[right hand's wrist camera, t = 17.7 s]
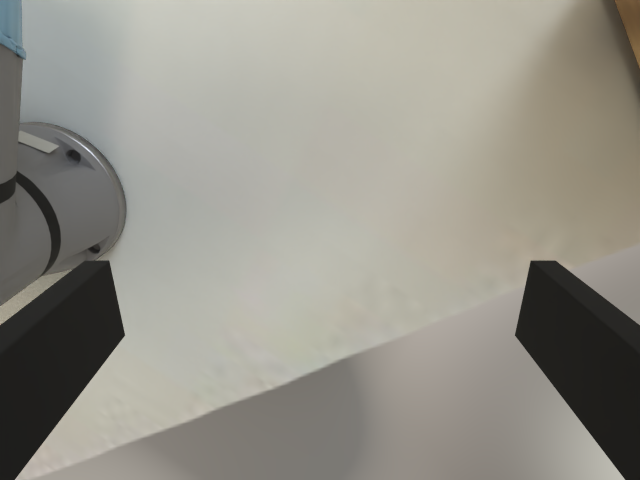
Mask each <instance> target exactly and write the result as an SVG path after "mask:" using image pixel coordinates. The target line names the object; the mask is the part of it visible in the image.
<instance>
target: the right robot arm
mask: <svg viewBox="0 0 640 480" xmlns="http://www.w3.org/2000/svg"><path fill="white" fill-rule="evenodd" d="M23 59H24V60H26V52H25V50H24V49H23V48H22V2H21V0H0V306H1V305H2V304H4V303H5V302H6V301H8V300H9V299H10V298H12V297H13V296H15V295H16V294H17V293H19V292H20V291H21V290H23V289H24V288H26V287H27V286H28V285H30V284H31V283H32V282H34V281H35V280H37V279H38V278H39V277H41V276H44V275H48V274H53V273H57V272H62V271H66V270H71V269H73V270H72V271H70V272H69V273H68V274H67V275H65V276H64V277H63V278H61V279H60V280H59V281H57V282H56V283H55V284H54V285H52V286H51V287H50V288H48V289H47V290H46V291H44V292H43V293H42V294H41V295H39V296H38V297H37V298H35V299H34V300H33V301H31V302H30V303H29V304H27V305H26V306H25V307H24V308H22V309H21V310H20V311H18V312H17V313H16V314H14V315H13V316H12V317H11V318H9V319H8V320H7V321H5V322H4V323H3V324H1V325H0V480H15V479H16V477H17V476H18V475H19V473H20V472H21V471H22V469H23V468H24V467H25V465H26V464H27V463H28V462H29V460H30V459H31V458H32V456H33V455H34V454H35V452H36V451H37V450H38V448H39V447H40V446H41V445H42V443H43V442H44V441H45V439H46V438H47V437H48V435H49V434H50V433H51V431H52V430H53V429H54V428H55V426H56V425H57V424H58V422H59V421H60V420H61V418H62V417H63V416H64V414H65V413H66V412H67V411H68V409H69V408H70V407H71V405H72V404H73V403H74V401H75V400H76V399H77V397H78V396H79V395H80V393H81V392H82V391H83V390H84V388H85V387H86V386H87V384H88V383H89V382H90V380H91V379H92V378H93V376H94V375H95V374H96V373H97V371H98V370H99V369H100V367H101V366H102V365H103V363H104V362H105V361H106V359H107V358H108V357H109V356H110V354H111V353H112V352H113V350H114V349H115V348H116V346H117V345H118V344H119V342H120V341H121V340H122V339H123V337H124V336H125V333H124V328H123V324H122V319H121V314H120V310H119V305H118V300H117V295H116V291H115V286H114V281H113V276H112V272H111V267H110V262H109V261H94V260H96V259H97V258H99V257H100V256H101V255H103V254H104V253H105V252H106V251H108V250H109V249H110V248H111V247H112V246H113V245H114V244H115V242H116V241H117V239H118V238H119V236H120V234H121V232H122V230H123V226H124V223H125V218H126V202H125V196H124V192H123V188H122V185H121V183H120V180H119V178H118V176H117V174H116V172H115V171H114V169H113V167H112V166H111V164H110V163H109V162H108V161H107V159H106V158H105V157H104V156H103V155H102V154H101V152H100V151H99V150H97V149H96V148H95V147H94V146H93V145H92V144H91V143H89V142H88V141H87V140H85V139H84V138H82V137H81V136H79V135H77V134H75V133H73V132H72V131H69V130H67V129H65V128H62V127H59V126H56V125H52V124H47V123H38V122H28V123H20V124H19V118H20V101H21V83H22V66H23ZM515 336H516V337H517V339H518V340H519V341H520V342H521V344H522V345H523V346H524V348H525V349H526V350H527V352H528V353H529V354H530V355H531V357H532V358H533V359H534V361H535V362H536V363H537V365H538V366H539V367H540V369H541V370H542V371H543V373H544V374H545V375H546V376H547V378H548V379H549V380H550V382H551V383H552V384H553V386H554V387H555V388H556V390H557V391H558V392H559V393H560V395H561V396H562V397H563V399H564V400H565V401H566V403H567V404H568V405H569V407H570V408H571V409H572V410H573V412H574V413H575V414H576V416H577V417H578V418H579V420H580V421H581V422H582V424H583V425H584V426H585V428H586V429H587V430H588V431H589V433H590V434H591V435H592V437H593V438H594V439H595V441H596V442H597V443H598V445H599V446H600V447H601V448H602V450H603V451H604V452H605V454H606V455H607V456H608V458H609V459H610V460H611V461H612V463H613V464H614V465H615V467H616V468H617V469H618V471H619V472H620V473H621V475H622V476H623V477H624V479H625V480H640V325H639V324H637V323H636V322H635V321H633V320H632V319H631V318H629V317H628V316H627V315H626V314H624V313H623V312H622V311H620V310H619V309H618V308H616V307H615V306H614V305H613V304H611V303H610V302H609V301H607V300H606V299H605V298H603V297H602V296H601V295H599V294H598V293H597V292H596V291H594V290H593V289H592V288H590V287H589V286H588V285H586V284H585V283H584V282H583V281H581V280H580V279H579V278H577V277H576V276H575V275H573V274H572V273H571V272H570V271H568V270H567V269H566V268H564V267H563V266H562V265H560V264H559V263H558V262H557V261H531V262H530V267H529V272H528V276H527V281H526V286H525V291H524V295H523V300H522V305H521V310H520V314H519V319H518V324H517V328H516V333H515Z"/></svg>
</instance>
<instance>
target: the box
mask: <svg viewBox="0 0 640 480" xmlns="http://www.w3.org/2000/svg"><path fill="white" fill-rule="evenodd" d="M615 3H616V6H617V8H618V11H619V14H620V16H621V19H622V22H623V25H624V27H625V30H626V33H627V35H628V38H629V41H630V44H631V46H632V49H633V52H634V54H635V57H636V60H637V63H638V65H639V68H640V0H615Z"/></svg>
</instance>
